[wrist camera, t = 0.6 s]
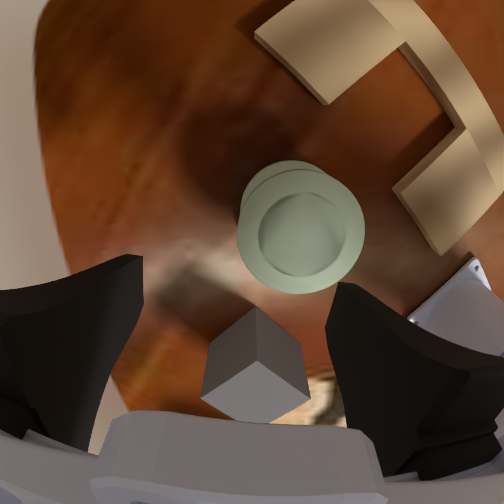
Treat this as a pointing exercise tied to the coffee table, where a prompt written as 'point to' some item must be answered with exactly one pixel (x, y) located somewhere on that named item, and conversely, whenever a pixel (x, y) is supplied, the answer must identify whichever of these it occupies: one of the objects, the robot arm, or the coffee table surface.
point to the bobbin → (299, 228)
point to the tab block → (255, 370)
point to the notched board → (436, 78)
